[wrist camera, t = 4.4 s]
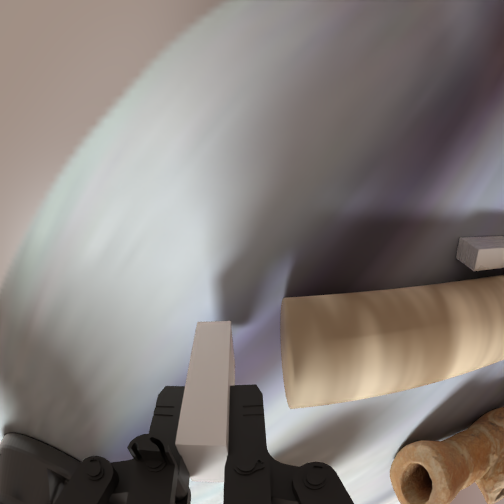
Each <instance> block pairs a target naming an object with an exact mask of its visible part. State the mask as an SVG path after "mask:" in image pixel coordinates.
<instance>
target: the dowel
mask: <svg viewBox="0 0 504 504" xmlns="http://www.w3.org/2000/svg"><path fill="white" fill-rule="evenodd" d="M280 333H281V356H282V369H283V379H284V387H285V393H286V398H287V402H288V405H289V408H290V409H295V408H304V407H313V406H321V405H329V404H336V403H342V402H348V401H354V400H360V399H366V398H371V397H376V396H381V395H386V394H391V393H395V392H400V391H404V390H408V389H412V388H416V387H420V386H424V385H428V384H431V383H435V382H439V381H442V380H445V379H449V378H452V377H455V376H459V375H462V374H465V373H468V372H471V371H474V370H477V369H480V368H482V367H485V366H488V365H491V364H493V363H496V362H499V361H501V360H504V275H498V276H491V277H485V278H478V279H471V280H463V281H456V282H448V283H440V284H432V285H423V286H415V287H406V288H396V289H386V290H376V291H366V292H355V293H343V294H331V295H318V296H304V297H289V298H283V300H282V305H281V319H280Z"/></svg>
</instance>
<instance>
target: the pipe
mask: <svg viewBox="0 0 504 504" xmlns="http://www.w3.org/2000/svg"><path fill="white" fill-rule="evenodd" d="M390 479H391V482H392V486H393V489H394V491H395V493H396V495H397V497H398V500H399V502H400V503H401V504H450V502H451V501H452V500H453V499H454V498H455V496H456V495H457V494H458V492H459V491H460V490H462V489H464V488H466V487H468V486H470V485H471V484H472V483H473V482H476V483H477V485H478V487H479V489H480V490H481V492H482V494H483V495H484V498H485V500H486V502H487V504H494V503H495V502H497V501H499V500H501V499H502V498H504V407H501V408H498V409H494V410H492V411H490V412H488V413H486V414H484V415H483V416H482V417H480V418H479V419H478V420H477V421H475V422H474V423H473V424H472V425H471V426H470V427H469V428H468V429H467V430H464V431H462V432H459V433H457V434H455V435H453V436H451V437H450V438H447V439H445V440H443V441H427V440H423V441H417V442H414V443H411V444H408V445H406V446H405V447H403V448H402V449H401V450H400V451H399V452H398V453H397V455H396V457H395V459H394V461H393V463H392V465H391V469H390Z"/></svg>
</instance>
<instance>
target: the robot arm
mask: <svg viewBox="0 0 504 504" xmlns="http://www.w3.org/2000/svg"><path fill="white" fill-rule="evenodd" d="M127 448H128V450H129V452H130V453H131V455H132V456H133V458H134V459H131V460H127V461H121V462H113V463H110V462H109V461H108V460H106V459H105V458H103V457H99V456H93V457H89V458H87V459H85V460H83V461H82V462H81V463H80V462H79V461H77V460H75V459H74V458H72V457H70V456H68V455H66V454H64V453H63V452H61V451H59V450H57V449H55V448H53V447H51V446H49V445H47V444H44V443H42V442H40V441H38V440H35V439H33V438H30V437H27V436H24V435H21V434H16V433H8V434H6V435H5V436H4V438H3V439H2V441H1V443H0V504H190V501H191V492H190V488H189V477H190V478H191V480H192V481H196V482H224V504H354V503H353V501H352V499H351V498H350V496H349V494H348V492H347V491H346V489H345V487H344V486H343V484H342V482H341V480H340V479H339V477H338V475H337V473H336V472H335V471H334V469H333V468H332V467H331V466H329V465H327V464H325V463H320V462H311V463H306V464H305V465H303V466H301V467H297V466H291V465H286V464H283V463H280V462H278V461H276V460H274V459H273V458H272V457H271V456H270V454H269V453H268V450H267V446H266V433H265V420H264V408H263V395H262V393H261V391H260V390H259V388H258V387H257V385H235V360H234V350H233V340H232V330H231V321H215V322H197V327H196V332H195V337H194V342H193V347H192V352H191V357H190V363H189V368H188V373H187V379H186V384H185V386H165V388H164V389H163V390H162V391H161V392H160V394H159V395H158V398H157V402H156V408H155V410H154V416H153V418H152V422H151V426H150V431H149V434H143V435H140V436H138V437H136V438H134V439H133V440H132V441H131V442H130V444H129V445H128V447H127Z"/></svg>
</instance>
